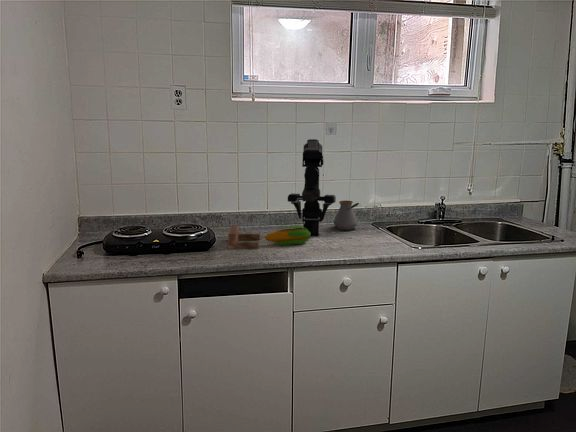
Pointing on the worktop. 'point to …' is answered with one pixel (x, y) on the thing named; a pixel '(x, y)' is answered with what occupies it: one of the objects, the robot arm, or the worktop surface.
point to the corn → (289, 236)
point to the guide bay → (236, 236)
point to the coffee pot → (346, 216)
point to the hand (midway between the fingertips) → (311, 219)
